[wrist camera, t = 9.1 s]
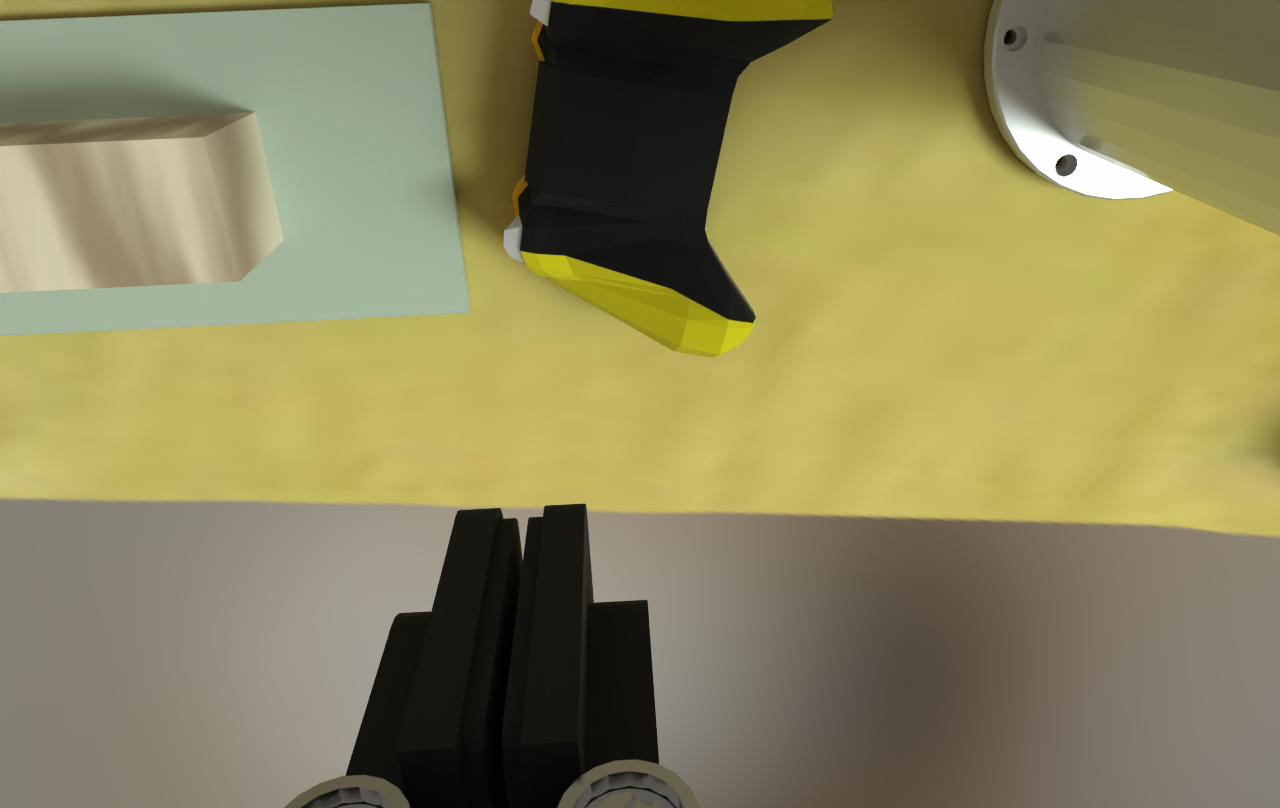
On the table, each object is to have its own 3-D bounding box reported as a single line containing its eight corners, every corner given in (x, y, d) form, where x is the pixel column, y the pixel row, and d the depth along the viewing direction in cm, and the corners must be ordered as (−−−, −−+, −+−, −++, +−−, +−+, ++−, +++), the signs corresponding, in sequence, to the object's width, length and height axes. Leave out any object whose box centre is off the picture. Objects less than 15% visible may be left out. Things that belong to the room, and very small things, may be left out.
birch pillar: (203, 137, 30) (-166, 153, 30) (239, 281, 32) (-104, 298, 32) (255, 112, 34) (-66, 125, 34) (283, 240, 37) (-18, 254, 36)
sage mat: (430, 2, 33) (428, 3, 33) (470, 308, 39) (468, 313, 38) (-122, 25, 33) (-132, 26, 33) (-4, 331, 38) (-11, 336, 38)
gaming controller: (821, -50, 33) (550, -107, 32) (859, -49, 28) (541, -116, 27) (729, 326, 40) (502, 290, 39) (748, 379, 35) (488, 341, 34)
